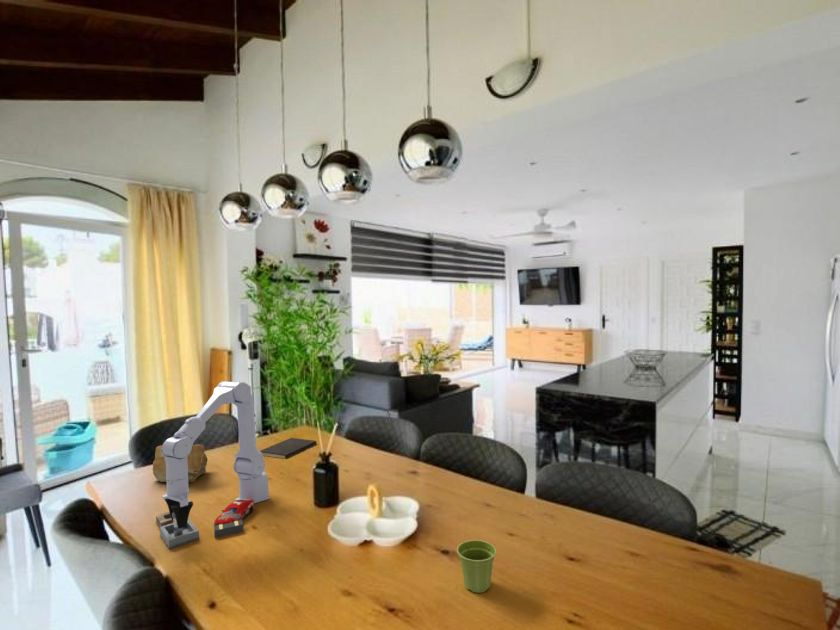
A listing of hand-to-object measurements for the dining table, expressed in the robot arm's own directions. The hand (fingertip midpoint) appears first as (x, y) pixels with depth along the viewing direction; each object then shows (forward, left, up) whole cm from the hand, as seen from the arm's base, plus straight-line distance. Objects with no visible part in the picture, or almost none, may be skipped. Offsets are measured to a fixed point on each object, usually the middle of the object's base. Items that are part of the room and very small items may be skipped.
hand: (178, 522), depth 135 cm
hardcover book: (-61, -56, -5) cm, 83 cm away
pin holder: (0, -12, -4) cm, 13 cm away
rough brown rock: (-16, -52, -5) cm, 54 cm away
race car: (-16, 0, -5) cm, 17 cm away
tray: (0, 0, -4) cm, 4 cm away
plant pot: (-46, +78, -5) cm, 90 cm away
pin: (0, 0, -4) cm, 4 cm away
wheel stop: (-12, +8, -5) cm, 15 cm away
